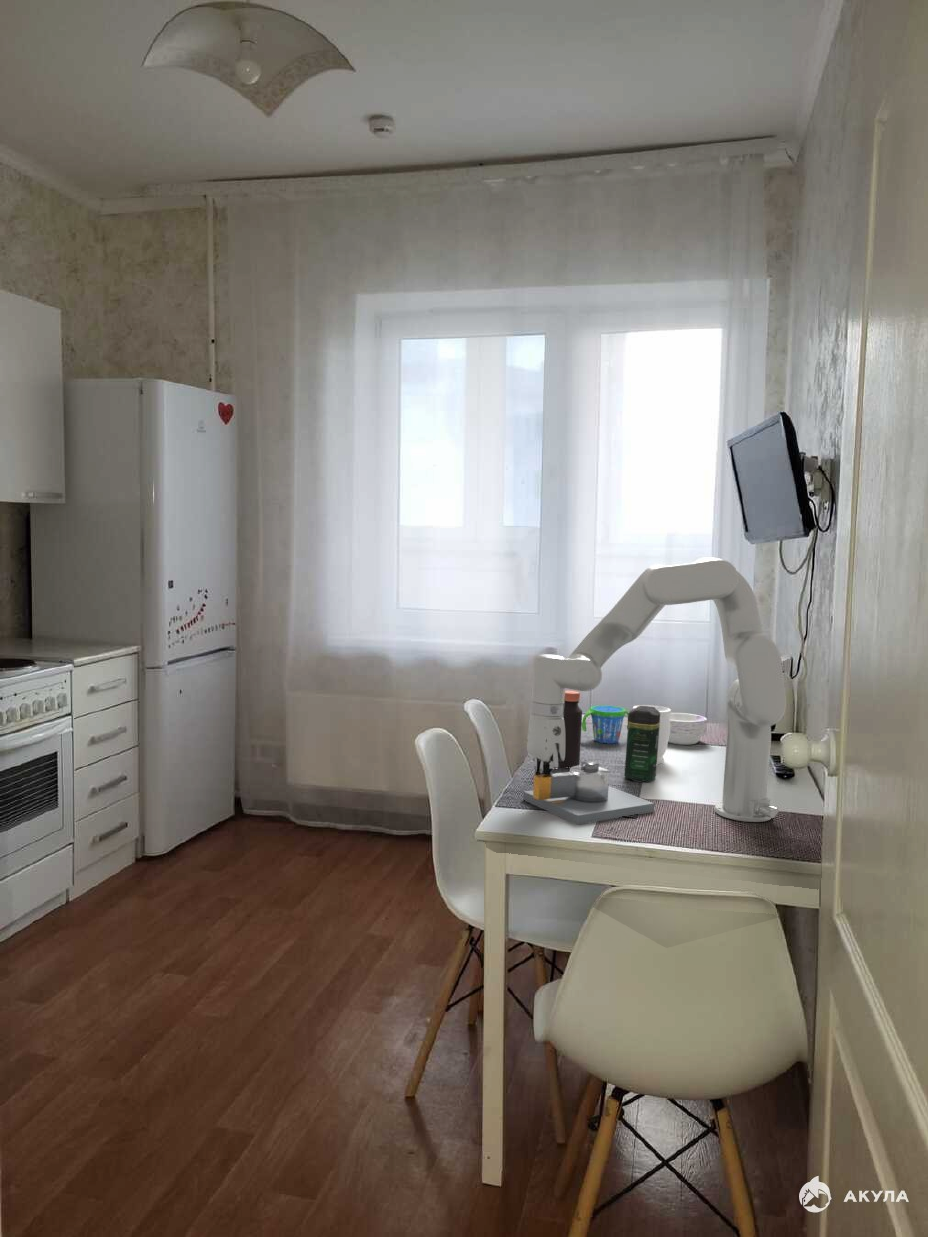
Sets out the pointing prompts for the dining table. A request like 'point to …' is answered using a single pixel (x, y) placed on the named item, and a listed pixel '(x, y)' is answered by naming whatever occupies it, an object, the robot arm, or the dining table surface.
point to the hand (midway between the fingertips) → (542, 788)
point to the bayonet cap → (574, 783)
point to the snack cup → (606, 722)
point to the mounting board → (593, 806)
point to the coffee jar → (642, 744)
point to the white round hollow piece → (686, 728)
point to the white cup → (662, 730)
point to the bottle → (572, 729)
